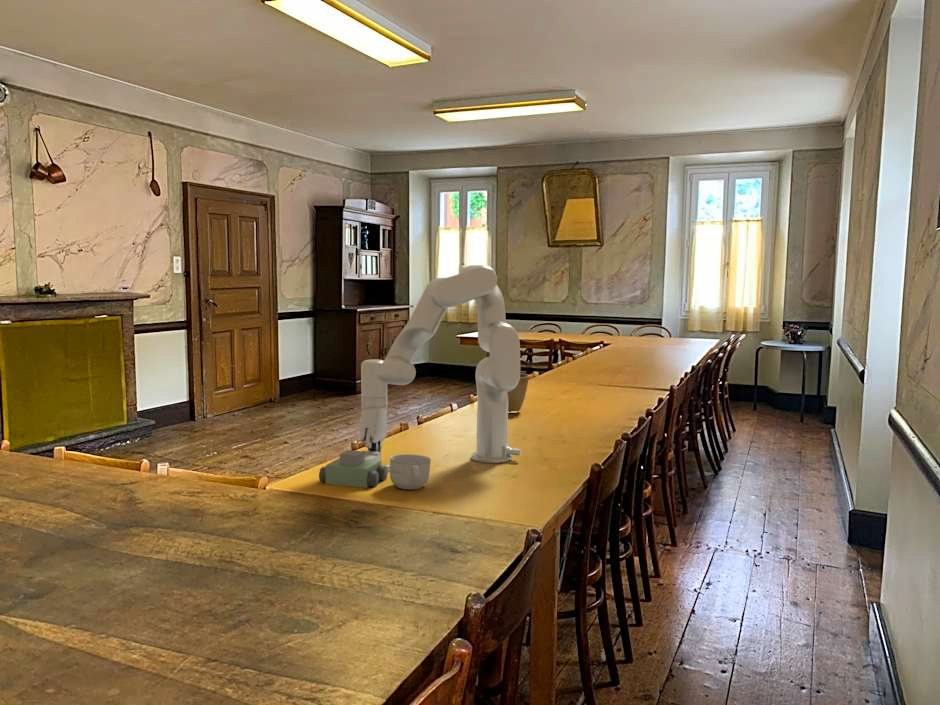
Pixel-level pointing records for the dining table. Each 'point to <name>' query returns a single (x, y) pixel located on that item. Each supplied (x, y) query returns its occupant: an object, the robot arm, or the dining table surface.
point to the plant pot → (518, 394)
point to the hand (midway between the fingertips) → (375, 464)
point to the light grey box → (373, 455)
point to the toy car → (354, 470)
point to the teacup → (409, 470)
